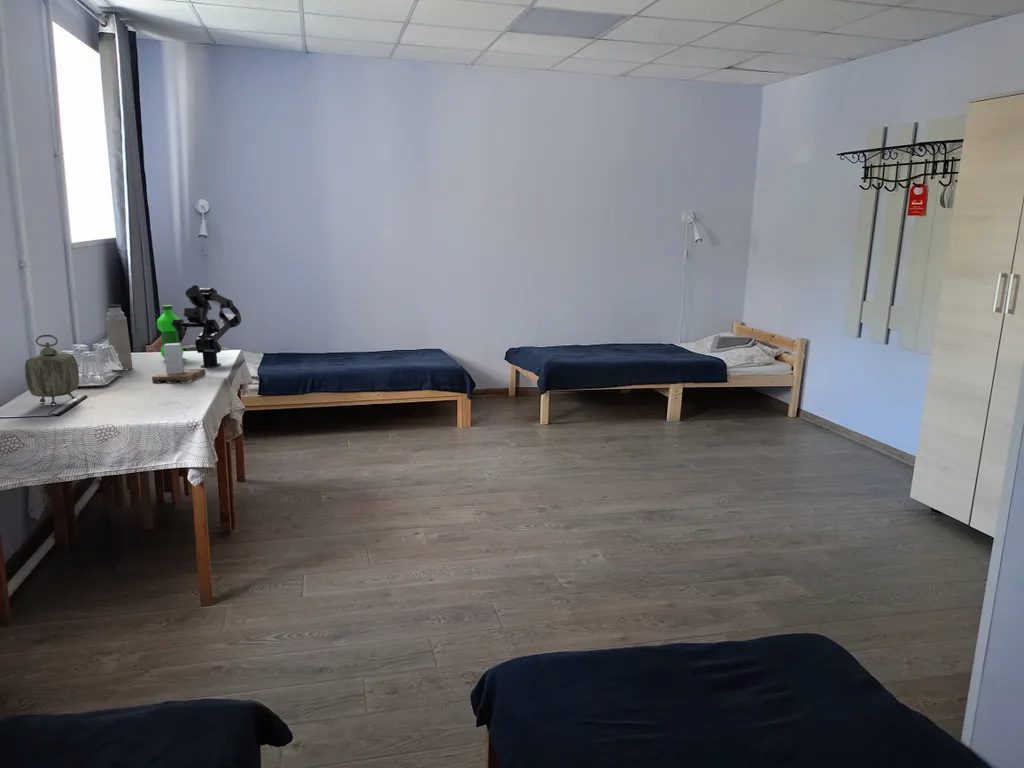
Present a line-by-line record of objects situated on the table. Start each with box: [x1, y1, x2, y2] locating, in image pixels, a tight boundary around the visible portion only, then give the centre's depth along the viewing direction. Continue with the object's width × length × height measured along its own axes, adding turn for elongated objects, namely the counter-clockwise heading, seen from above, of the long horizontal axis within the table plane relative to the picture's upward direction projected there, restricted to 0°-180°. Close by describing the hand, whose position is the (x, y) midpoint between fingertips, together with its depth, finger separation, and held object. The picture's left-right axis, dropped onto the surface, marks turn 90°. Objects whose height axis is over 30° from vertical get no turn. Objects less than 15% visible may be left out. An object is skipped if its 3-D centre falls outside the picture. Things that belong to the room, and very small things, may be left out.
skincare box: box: [163, 342, 185, 374], centre depth 302 cm, size 6×4×12 cm
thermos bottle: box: [105, 304, 134, 371], centre depth 321 cm, size 8×8×28 cm
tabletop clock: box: [24, 334, 80, 406], centre depth 262 cm, size 14×9×25 cm, turn 100°
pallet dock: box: [151, 367, 206, 383], centre depth 304 cm, size 16×14×2 cm
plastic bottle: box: [156, 304, 184, 359], centre depth 341 cm, size 10×10×25 cm
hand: (190, 341), depth 311 cm, fingers open, 9 cm apart
